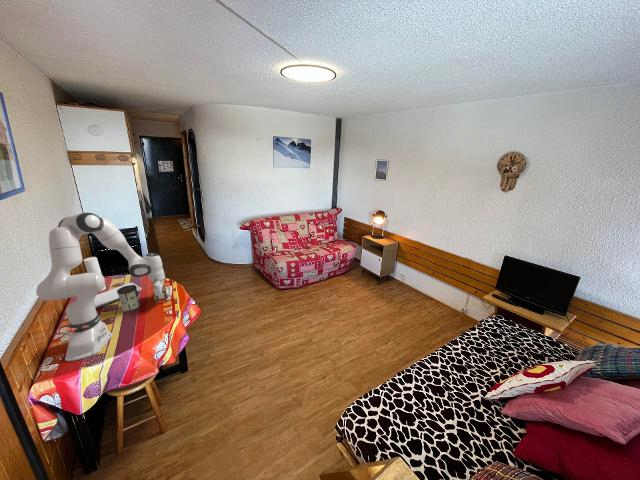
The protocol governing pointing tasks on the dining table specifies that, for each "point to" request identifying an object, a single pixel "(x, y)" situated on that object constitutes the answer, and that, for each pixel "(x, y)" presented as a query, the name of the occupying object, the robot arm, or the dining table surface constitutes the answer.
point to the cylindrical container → (93, 267)
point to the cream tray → (169, 292)
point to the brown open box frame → (164, 295)
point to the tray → (110, 296)
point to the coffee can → (129, 297)
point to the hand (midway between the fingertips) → (161, 294)
